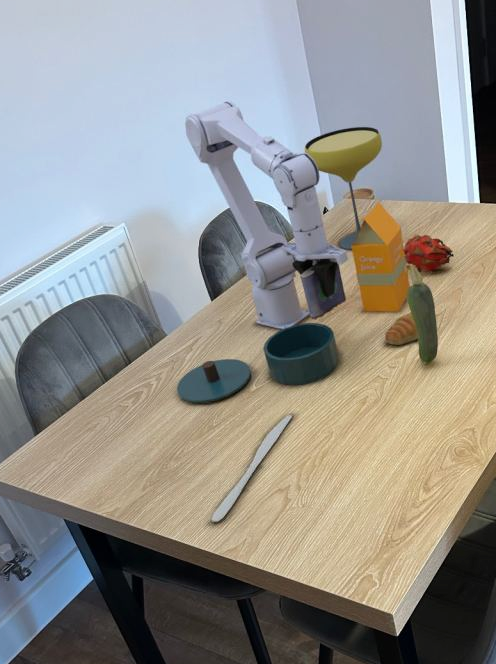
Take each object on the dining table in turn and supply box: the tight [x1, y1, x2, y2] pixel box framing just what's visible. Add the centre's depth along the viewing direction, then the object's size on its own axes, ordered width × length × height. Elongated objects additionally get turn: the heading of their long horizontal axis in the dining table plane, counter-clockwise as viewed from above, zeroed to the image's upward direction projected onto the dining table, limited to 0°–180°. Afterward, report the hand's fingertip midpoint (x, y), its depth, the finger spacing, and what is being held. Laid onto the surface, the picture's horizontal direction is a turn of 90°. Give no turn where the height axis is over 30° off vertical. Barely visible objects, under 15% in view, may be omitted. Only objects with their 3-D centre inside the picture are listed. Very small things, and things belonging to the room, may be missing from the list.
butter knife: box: [211, 414, 293, 523], centre depth 122 cm, size 1×27×3 cm
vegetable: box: [404, 263, 439, 366], centre depth 130 cm, size 4×4×20 cm
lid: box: [176, 358, 252, 404], centre depth 144 cm, size 14×14×4 cm
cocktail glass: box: [304, 126, 383, 250], centre depth 183 cm, size 18×18×25 cm
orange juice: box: [351, 201, 411, 313], centre depth 154 cm, size 8×9×20 cm
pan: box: [262, 322, 340, 386], centre depth 143 cm, size 13×13×6 cm
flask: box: [299, 259, 347, 320], centre depth 144 cm, size 9×3×11 cm, turn 136°
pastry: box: [384, 311, 418, 346], centre depth 145 cm, size 9×7×4 cm
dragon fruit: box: [404, 234, 455, 274], centre depth 167 cm, size 8×8×12 cm
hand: (323, 293), depth 144 cm, fingers closed on flask, 3 cm apart
